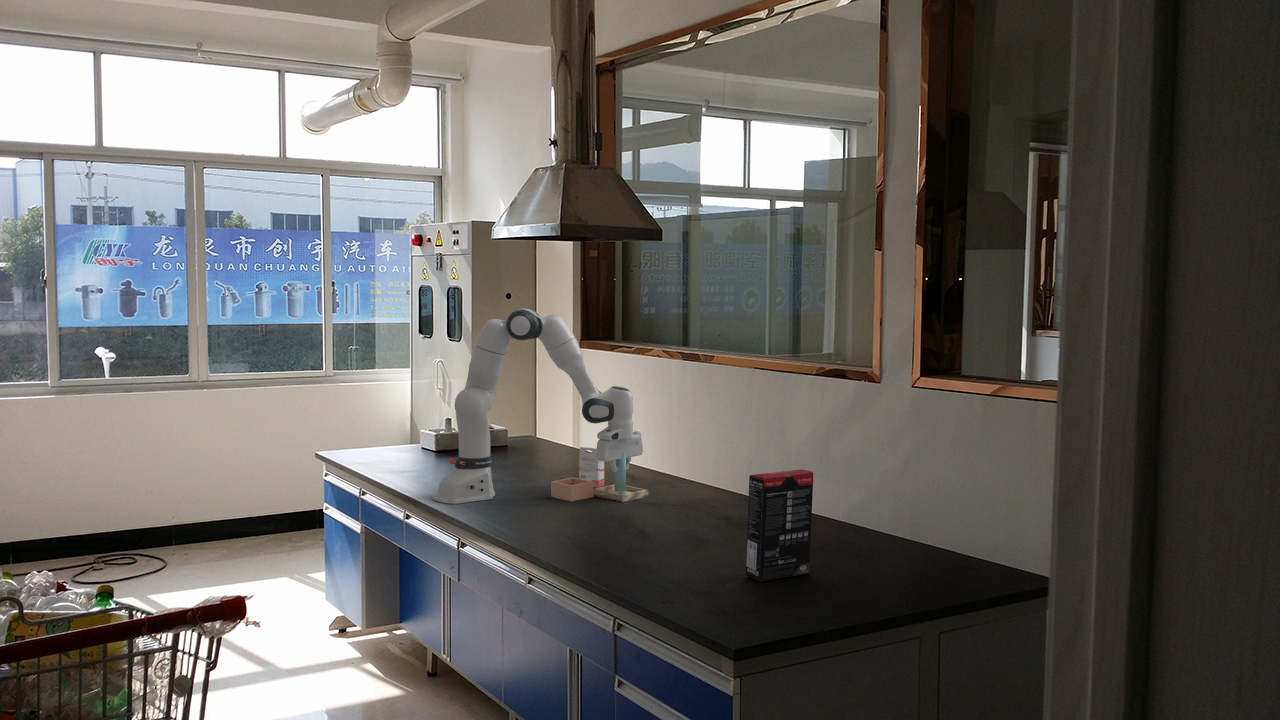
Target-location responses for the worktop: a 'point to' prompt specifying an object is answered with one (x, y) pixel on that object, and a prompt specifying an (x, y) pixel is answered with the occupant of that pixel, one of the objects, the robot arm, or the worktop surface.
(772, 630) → the worktop surface
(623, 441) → the robot arm
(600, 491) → the birch tray
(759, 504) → the graphics card box
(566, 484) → the cup
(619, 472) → the teal peg
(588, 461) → the ink cartridge box
